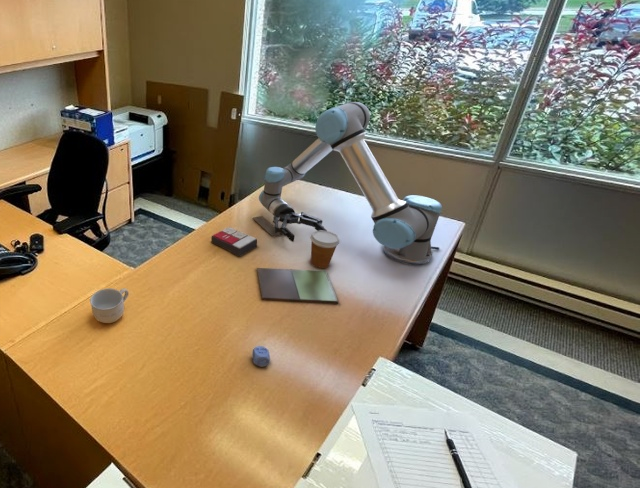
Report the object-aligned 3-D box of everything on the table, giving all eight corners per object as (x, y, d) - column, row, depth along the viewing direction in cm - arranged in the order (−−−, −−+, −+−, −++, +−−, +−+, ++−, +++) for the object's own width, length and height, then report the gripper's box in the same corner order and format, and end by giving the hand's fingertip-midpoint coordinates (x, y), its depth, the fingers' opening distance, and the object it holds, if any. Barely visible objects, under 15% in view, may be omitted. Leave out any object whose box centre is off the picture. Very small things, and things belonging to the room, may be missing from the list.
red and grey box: (228, 225, 177) (258, 237, 166) (228, 234, 179) (257, 246, 168) (211, 234, 172) (239, 247, 160) (211, 243, 174) (239, 257, 162)
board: (325, 273, 151) (325, 270, 150) (337, 304, 136) (338, 301, 136) (256, 270, 155) (257, 267, 154) (262, 299, 140) (262, 297, 140)
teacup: (100, 332, 132) (98, 313, 128) (87, 312, 140) (84, 294, 136) (138, 316, 137) (137, 297, 133) (123, 298, 146) (122, 280, 142)
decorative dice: (251, 355, 120) (253, 345, 118) (266, 356, 120) (267, 346, 118) (254, 366, 117) (255, 356, 115) (268, 367, 116) (270, 357, 114)
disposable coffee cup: (301, 257, 160) (306, 231, 154) (325, 255, 160) (331, 228, 154) (313, 272, 152) (318, 244, 146) (338, 269, 152) (345, 242, 146)
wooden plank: (252, 217, 187) (262, 214, 188) (252, 219, 187) (262, 216, 188) (272, 235, 173) (283, 233, 174) (272, 238, 174) (282, 235, 174)
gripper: (307, 214, 182) (337, 239, 164) (254, 222, 179) (278, 249, 160) (310, 199, 178) (340, 223, 160) (255, 207, 175) (280, 232, 157)
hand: (309, 236), depth 160 cm, fingers open, 13 cm apart
